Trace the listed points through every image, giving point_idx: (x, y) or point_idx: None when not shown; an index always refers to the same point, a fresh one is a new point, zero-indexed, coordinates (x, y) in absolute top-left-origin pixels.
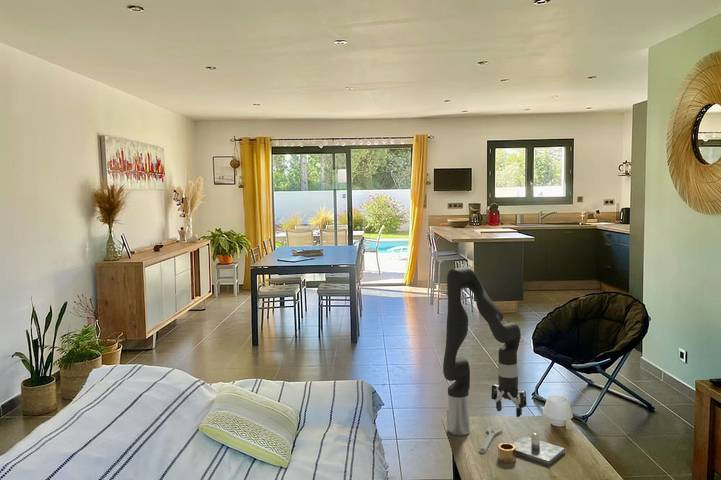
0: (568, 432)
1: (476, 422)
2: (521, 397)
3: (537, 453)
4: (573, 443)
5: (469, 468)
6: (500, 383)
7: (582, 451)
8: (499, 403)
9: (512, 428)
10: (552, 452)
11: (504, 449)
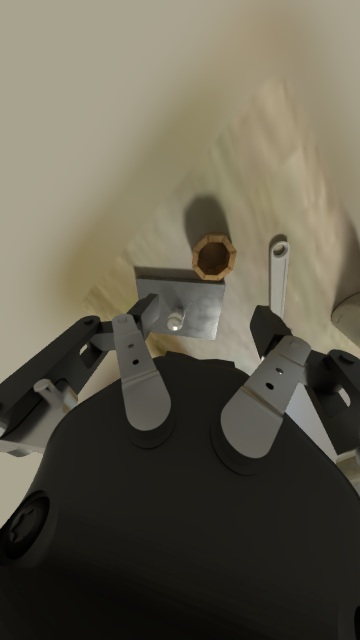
0: None
1: None
2: (27, 372)
3: (165, 294)
4: (154, 353)
5: (296, 102)
6: None
7: None
8: (266, 337)
9: (246, 359)
10: None
11: (211, 240)
